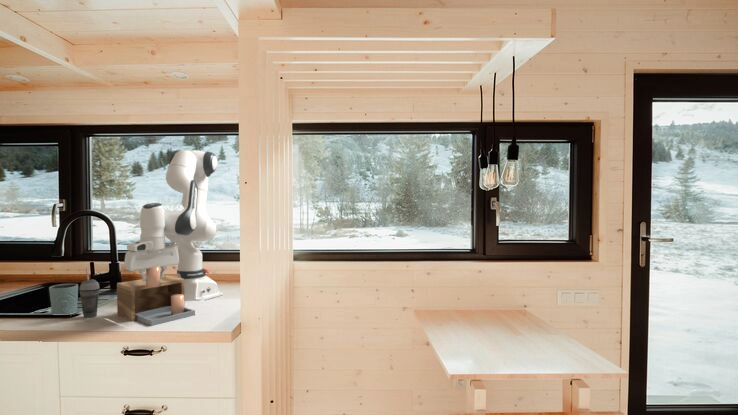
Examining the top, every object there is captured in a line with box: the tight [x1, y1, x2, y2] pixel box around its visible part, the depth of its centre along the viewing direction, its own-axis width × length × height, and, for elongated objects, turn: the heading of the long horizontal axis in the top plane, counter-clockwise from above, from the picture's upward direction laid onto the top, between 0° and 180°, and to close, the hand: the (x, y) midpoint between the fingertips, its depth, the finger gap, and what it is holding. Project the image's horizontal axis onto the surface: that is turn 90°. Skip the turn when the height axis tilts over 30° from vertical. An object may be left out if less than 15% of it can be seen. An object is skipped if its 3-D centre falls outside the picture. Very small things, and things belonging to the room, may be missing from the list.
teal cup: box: [48, 283, 79, 315], centre depth 180 cm, size 10×10×12 cm
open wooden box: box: [116, 274, 186, 322], centre depth 181 cm, size 22×13×14 cm, turn 143°
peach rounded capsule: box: [145, 266, 161, 288], centre depth 170 cm, size 5×5×8 cm
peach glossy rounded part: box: [171, 294, 185, 315], centre depth 178 cm, size 5×5×8 cm
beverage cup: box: [78, 268, 101, 319], centre depth 176 cm, size 7×7×20 cm
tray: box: [135, 305, 196, 327], centre depth 175 cm, size 18×15×3 cm
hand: (153, 278), depth 170 cm, fingers closed on peach rounded capsule, 5 cm apart
